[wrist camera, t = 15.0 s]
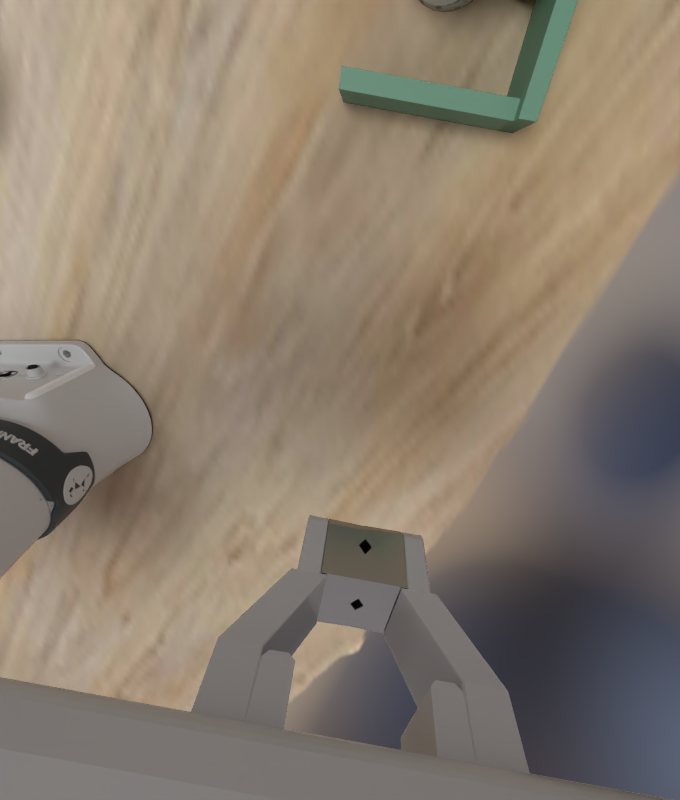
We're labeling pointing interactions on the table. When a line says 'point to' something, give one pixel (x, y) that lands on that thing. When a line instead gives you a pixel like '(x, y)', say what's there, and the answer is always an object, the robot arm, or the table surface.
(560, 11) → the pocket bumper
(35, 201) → the table surface
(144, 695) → the table surface
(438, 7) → the mug
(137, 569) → the table surface
